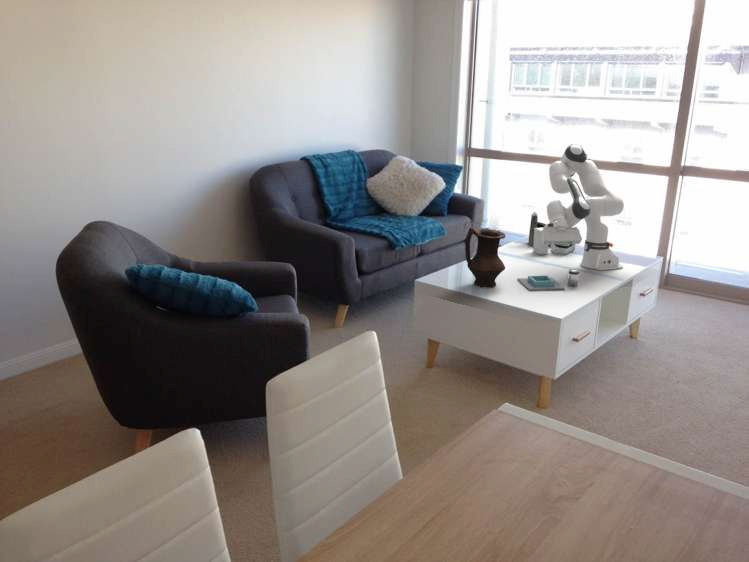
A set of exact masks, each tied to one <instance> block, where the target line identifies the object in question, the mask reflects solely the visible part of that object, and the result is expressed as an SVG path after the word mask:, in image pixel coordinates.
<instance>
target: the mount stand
mask: <svg viewBox="0 0 749 562" xmlns="http://www.w3.org/2000/svg"><path fill="white" fill-rule="evenodd" d="M517 282H519V284H521V285H522V286H523V287H524V288H525V289H526V290H527V291H529V292H540V291H541V292H542V291H544V292H545V291H565V290H566V289H565V287H564V286H563V285H562V284H560V283H559V282H558V281H556V280H555V279H553V277H550V276H548V275H527V277H525V278H517Z"/></svg>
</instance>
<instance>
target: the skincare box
mask: <svg viewBox="0 0 749 562" xmlns="http://www.w3.org/2000/svg"><path fill="white" fill-rule="evenodd" d="M542 230H543V228H534V245H533V246H532V247H533V250H532V252H533V253H535V254H537V255H548V254H549V244H544V243H543V241H542V234H543V233H542Z"/></svg>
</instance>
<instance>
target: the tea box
mask: <svg viewBox="0 0 749 562" xmlns="http://www.w3.org/2000/svg"><path fill="white" fill-rule="evenodd" d="M574 227H575V228H577V229H578V226H576V225H575V226H573V227H572V228H574ZM554 245H555V246H556V247H557V248H558V250H557V251H554V249H553V248H552V247H551V250H550V251H551V252H552V253H556V254H563V255H567V254H569V253H570V252H572V249H571V247H572V246H573V245H572V244H554Z"/></svg>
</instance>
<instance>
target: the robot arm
mask: <svg viewBox="0 0 749 562" xmlns="http://www.w3.org/2000/svg"><path fill="white" fill-rule="evenodd" d="M587 158H588V155H587V154H586V152H585V150H584V148H583V147H582V146H580V145H579V144H576V143H575V144H574V143H573V144H570V145H568V146H567V147H566V149H565V150H564V152H563V154H562V155H561V157H560V160H557V161H554V162H552V163H551V164H550V165H549V168H548V170H549V171H548V175H549V182H550V186H551V188H552V190H553V192H555V193H557V194H561V195H564V194H568V193H570V196H571V199H572V203H571V204H570V205H569V206H568V207H565V206H564V205H563V203H562V202H561V200H559V199H556V200H555V199H554V200H552V201H550V202H549V203H548V204H547V206H546V213H547V214H546V215H547V219H548V221H549V223H545V224H546V225H545V226H544V228H543V230H542V233H543V234H542V241H543V243H544V244H548V245H550V247H551V249H552V248H553V249H554V251H557V250H558V248H557V247H556V246H555V245H554V244H572V245H573V246H572V247H571V249H572V251H573V252H575V251H576V245H580V244H581V242H582V241H583V238H582V235H581V232H580V229H579V228H578V227H577V228H575V227H576V225H577V224H579V223H580V222H581V221H582V220H584V221H585V224H586V236H585V240H584V247H583V249H584V251H583V255H582V258H581V262H580V263H579V265H580V266H582V267H584V268H587V269H593V270H597V271H606V270H607V271H608V270H618V269H623V264H622V263H621V262H620V261H619V260H620V259H619V256H618V254H617V253H615V251H613V250H612V249H611V248H613V247H614V243H612V242H609V241H608V237H609V236H608V235H609V227H608V226H607V225H606V224H605V223H603V222H602V221H601V217H614V216H618V215H620V214H621V213H622V212H623V210H624V207H625V205H624V201H623V199H622V198H621V197H620V196H617V195H615V194H614V193H612V192H611V191H610V190H609V189H608V188H607V186H606V185H605V183H604V181H603V178H602V175H601V173H600V170H599V169H598V167H597V165H596V164H595V162H594V161H592V160H589V159H587ZM575 174H577V175H578V177H579V182H580V185H581V187H582V189H581V188H580V185H579V184H578V181H577V180H575V179H574V178H572V177H573V176H574V175H575ZM582 190H583V192H584V194H585V195H586V197H585V196H584V194H583V192H582ZM573 226H575V227H574V228H572V227H573ZM572 251H571V252H572Z"/></svg>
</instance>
